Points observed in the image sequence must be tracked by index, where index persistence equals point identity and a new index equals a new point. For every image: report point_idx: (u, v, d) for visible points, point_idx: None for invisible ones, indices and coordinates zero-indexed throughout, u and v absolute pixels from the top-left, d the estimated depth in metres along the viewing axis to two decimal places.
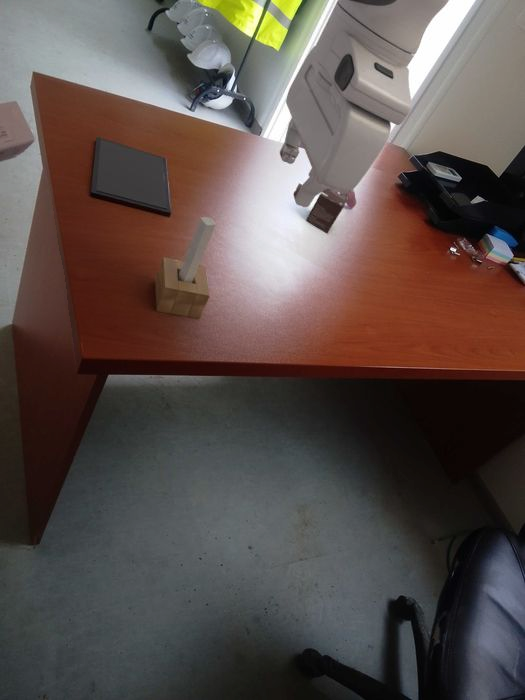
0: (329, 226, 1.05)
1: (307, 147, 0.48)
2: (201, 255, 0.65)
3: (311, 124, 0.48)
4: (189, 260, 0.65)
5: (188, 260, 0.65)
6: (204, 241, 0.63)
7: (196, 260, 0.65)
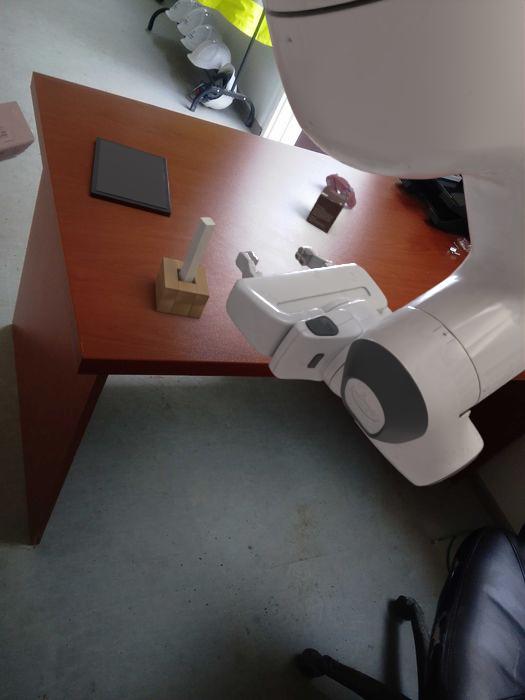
0: (329, 226, 1.05)
1: (285, 275, 0.48)
2: (201, 255, 0.65)
3: (307, 284, 0.48)
4: (189, 260, 0.65)
5: (188, 260, 0.65)
6: (204, 241, 0.63)
7: (196, 260, 0.65)
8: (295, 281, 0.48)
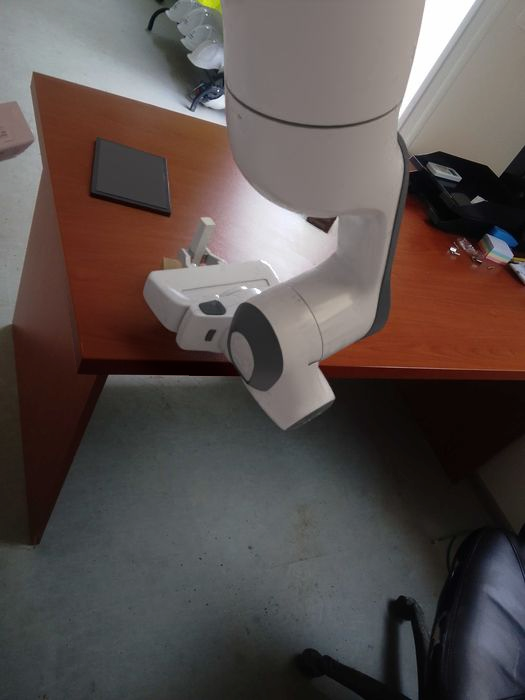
0: (329, 226, 1.05)
1: (193, 269, 0.60)
2: (201, 255, 0.65)
3: (212, 275, 0.61)
4: None
5: None
6: (204, 241, 0.63)
7: (196, 260, 0.65)
8: (201, 273, 0.60)
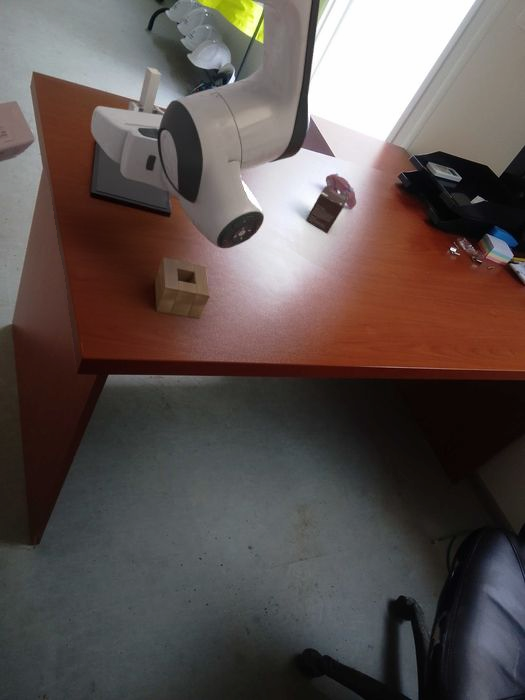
0: (329, 226, 1.05)
1: (139, 112, 0.65)
2: (150, 110, 0.69)
3: (157, 120, 0.65)
4: None
5: None
6: (151, 93, 0.67)
7: None
8: (147, 117, 0.65)
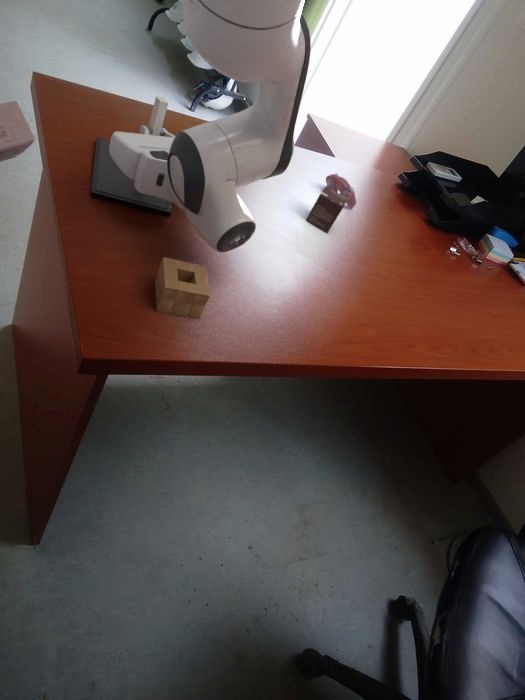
0: (329, 226, 1.05)
1: (150, 136, 0.76)
2: (158, 132, 0.80)
3: (165, 142, 0.76)
4: None
5: None
6: (160, 118, 0.78)
7: None
8: (156, 139, 0.76)
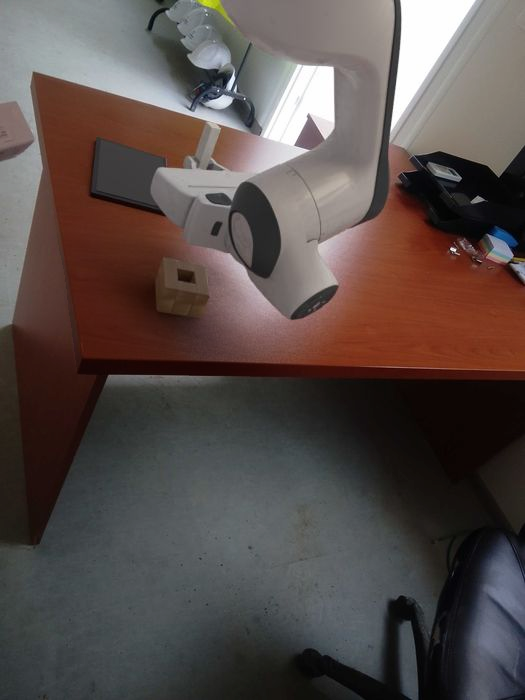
0: None
1: (199, 171, 0.61)
2: (206, 164, 0.66)
3: (218, 178, 0.62)
4: None
5: None
6: (209, 147, 0.64)
7: (201, 169, 0.66)
8: (207, 175, 0.61)
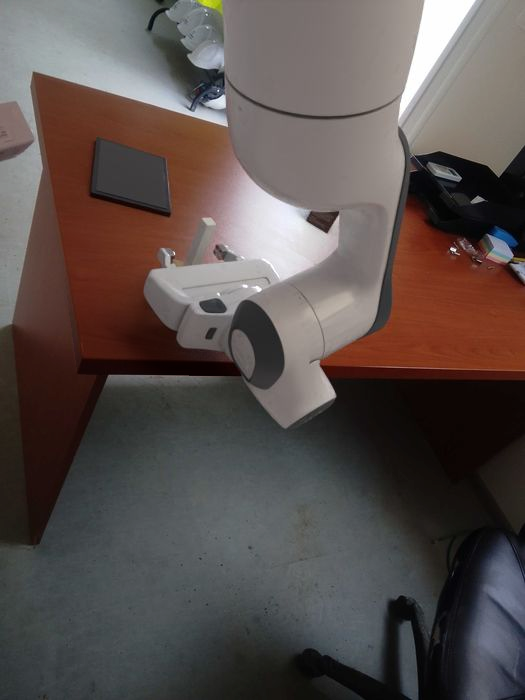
0: (329, 226, 1.05)
1: (194, 267, 0.60)
2: (202, 255, 0.65)
3: (213, 274, 0.60)
4: (190, 260, 0.65)
5: (189, 260, 0.65)
6: (205, 241, 0.63)
7: (196, 260, 0.65)
8: (202, 271, 0.60)
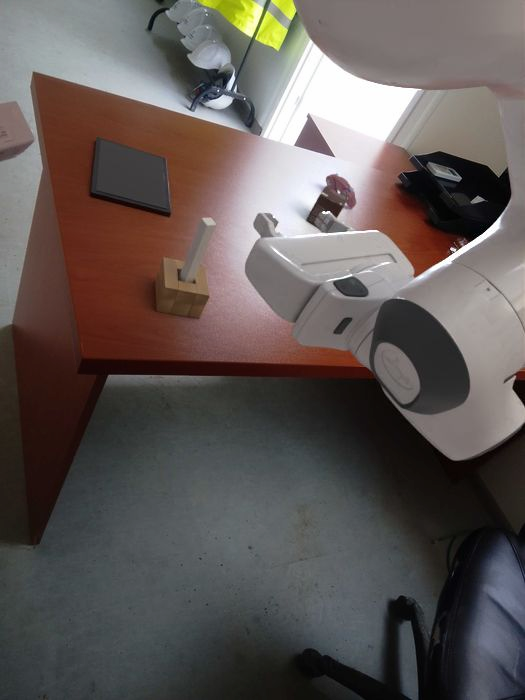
0: None
1: (308, 237, 0.44)
2: (202, 255, 0.65)
3: (331, 247, 0.45)
4: (190, 260, 0.65)
5: (189, 260, 0.65)
6: (205, 241, 0.63)
7: (196, 260, 0.65)
8: (318, 243, 0.44)
